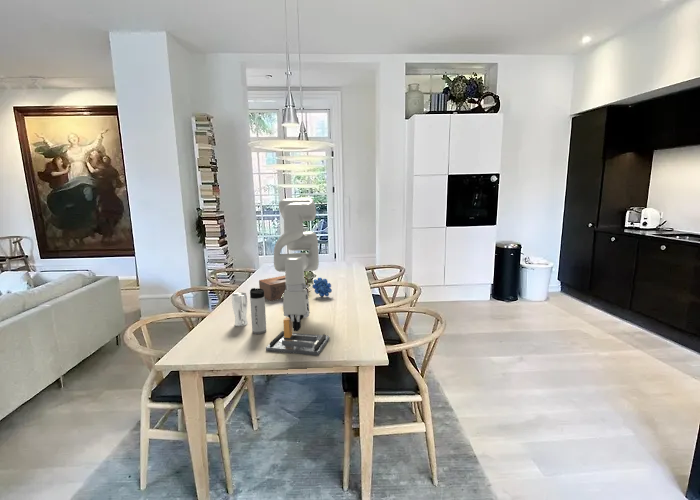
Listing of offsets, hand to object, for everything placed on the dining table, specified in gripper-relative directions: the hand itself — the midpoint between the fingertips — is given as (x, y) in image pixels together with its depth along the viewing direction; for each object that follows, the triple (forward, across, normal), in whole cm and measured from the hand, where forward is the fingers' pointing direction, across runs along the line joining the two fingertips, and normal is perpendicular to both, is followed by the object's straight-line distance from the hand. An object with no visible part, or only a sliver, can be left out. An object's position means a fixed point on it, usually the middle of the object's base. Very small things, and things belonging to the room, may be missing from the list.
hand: (296, 329), depth 152 cm
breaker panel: (+6, -1, 0) cm, 7 cm away
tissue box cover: (+7, +33, -69) cm, 77 cm away
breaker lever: (+5, +4, 0) cm, 6 cm away
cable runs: (+5, -1, 0) cm, 5 cm away
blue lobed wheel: (+6, +8, -66) cm, 67 cm away
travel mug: (+7, +22, -10) cm, 26 cm away
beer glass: (+7, +35, -18) cm, 40 cm away
